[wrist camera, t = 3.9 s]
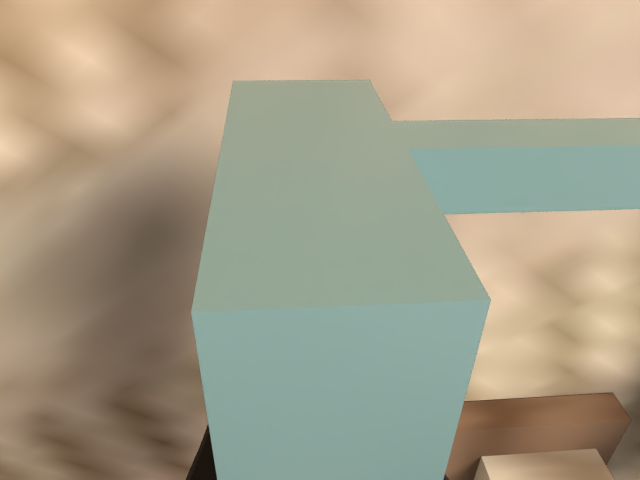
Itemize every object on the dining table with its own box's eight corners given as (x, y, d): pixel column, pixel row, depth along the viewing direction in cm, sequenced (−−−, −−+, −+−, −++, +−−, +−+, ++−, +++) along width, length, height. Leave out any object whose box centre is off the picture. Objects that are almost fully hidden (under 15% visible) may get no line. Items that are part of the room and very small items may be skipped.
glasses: (786, 77, 10) (1316, 265, 5) (572, 492, 18) (692, 727, 13) (230, 80, 9) (184, 312, 4) (263, 514, 17) (261, 776, 12)
